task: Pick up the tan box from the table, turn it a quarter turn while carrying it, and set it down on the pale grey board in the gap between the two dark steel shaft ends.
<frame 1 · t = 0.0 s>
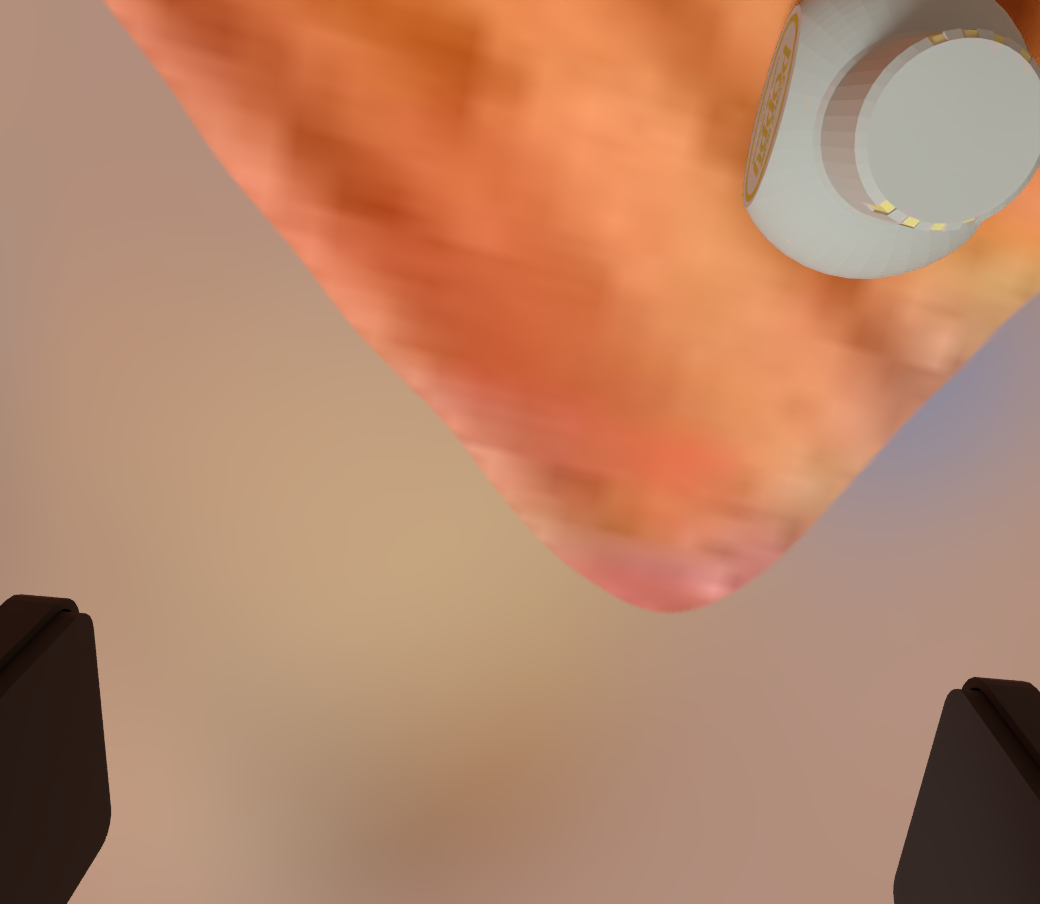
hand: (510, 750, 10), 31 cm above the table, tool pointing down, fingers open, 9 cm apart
air freshener: (852, 129, 37), on the table
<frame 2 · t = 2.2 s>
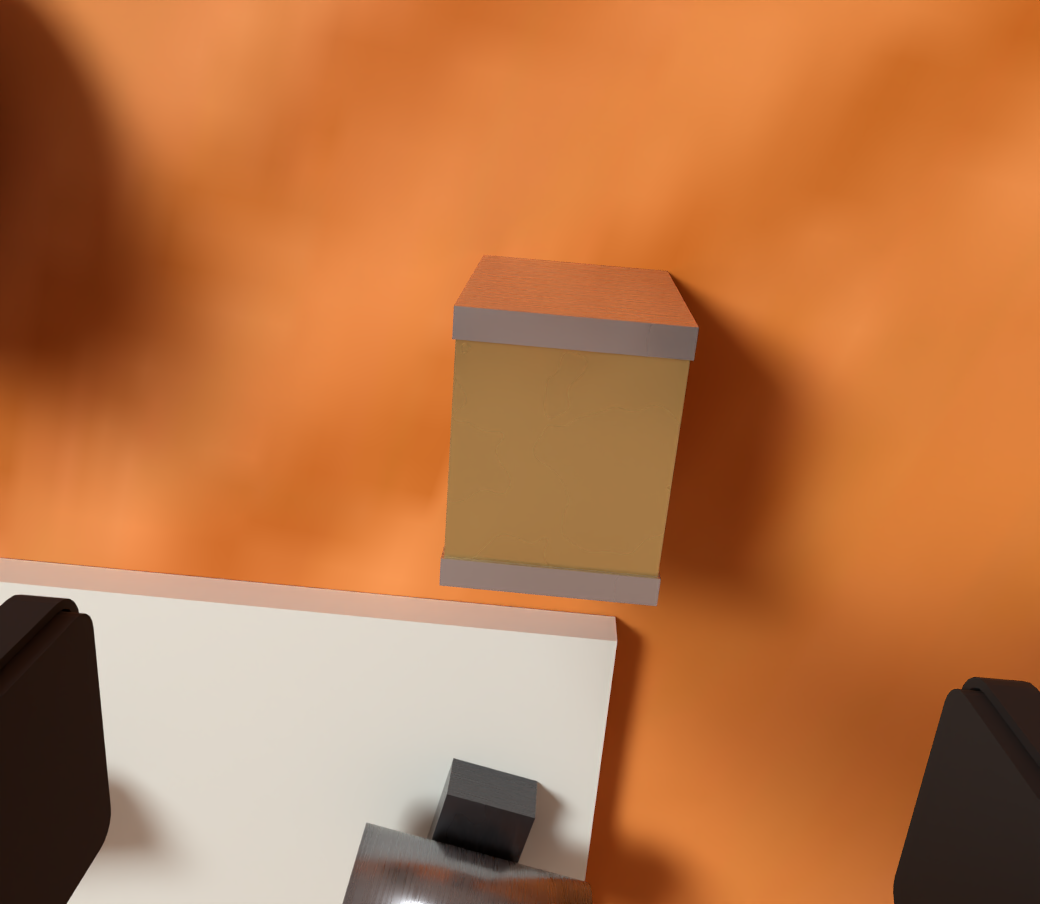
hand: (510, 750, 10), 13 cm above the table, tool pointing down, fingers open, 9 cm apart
tan box: (564, 378, 22), on the table
board: (237, 758, 27), on the table
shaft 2: (478, 798, 27), resting on board
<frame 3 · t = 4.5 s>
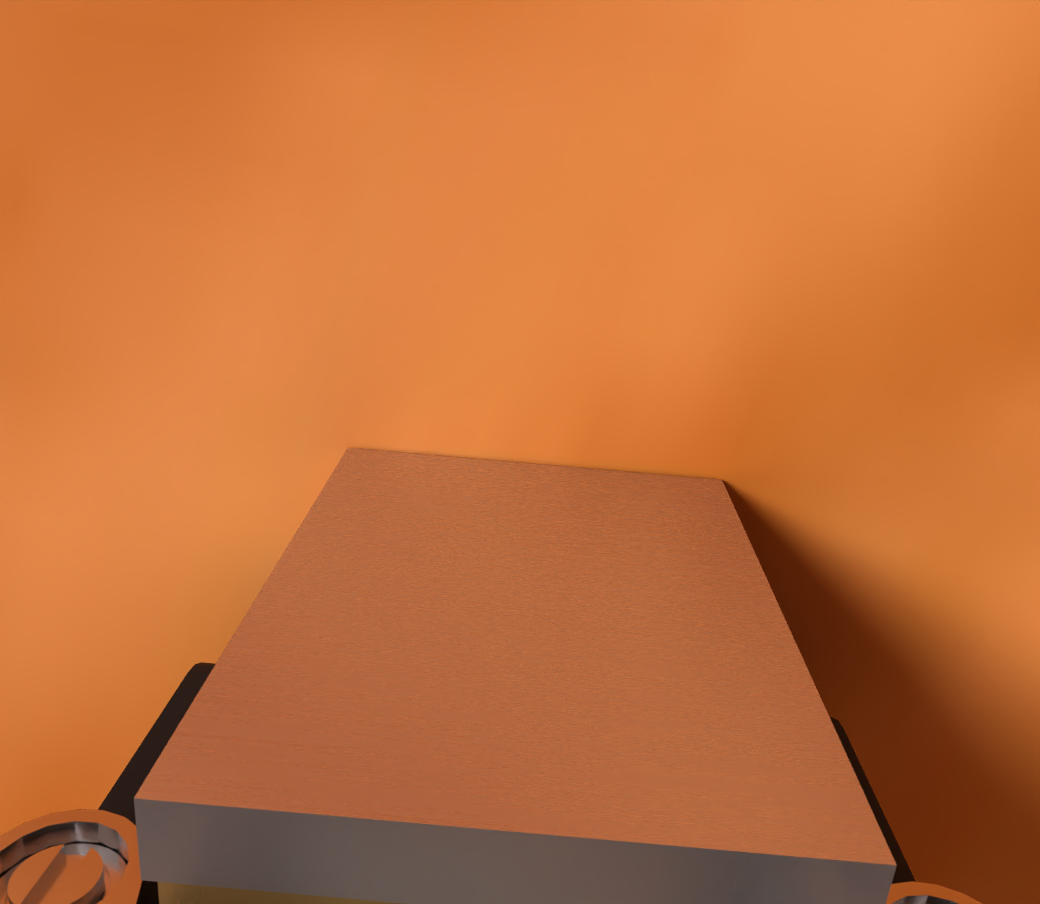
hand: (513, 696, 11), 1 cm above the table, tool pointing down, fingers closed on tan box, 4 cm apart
tan box: (516, 671, 11), on the table, touching gripper
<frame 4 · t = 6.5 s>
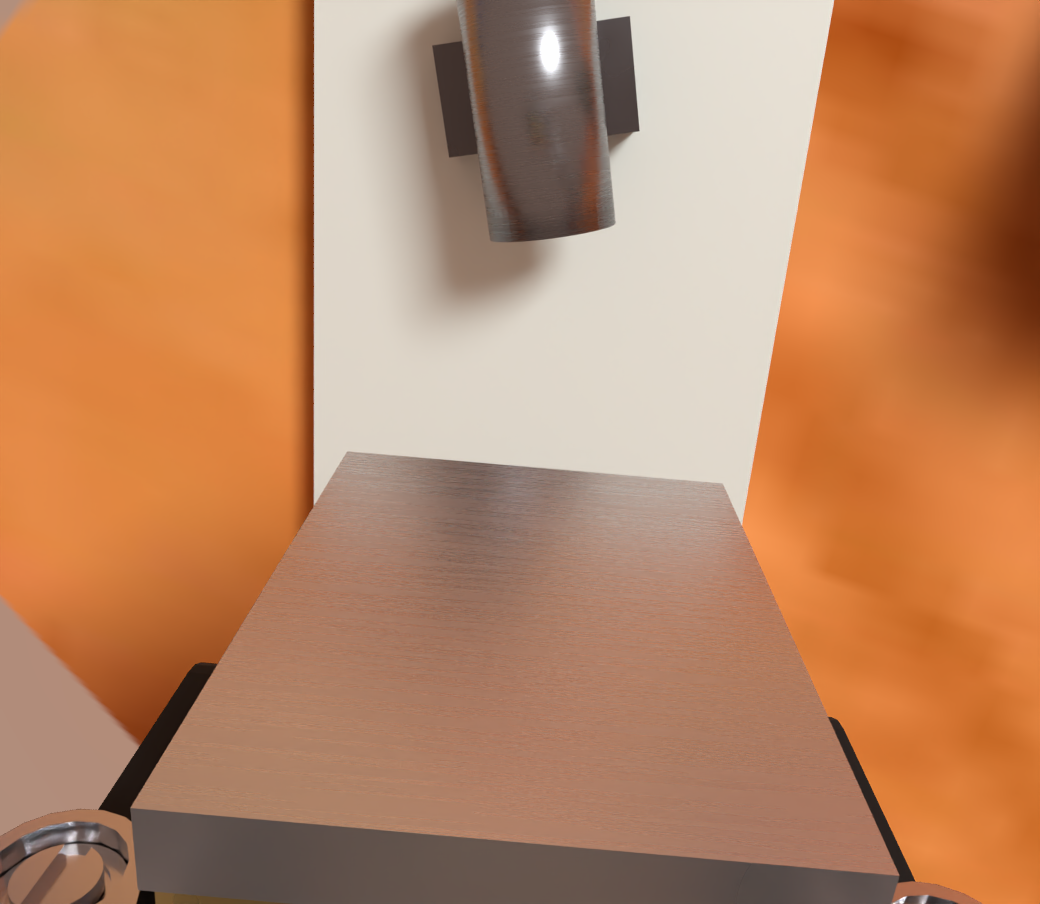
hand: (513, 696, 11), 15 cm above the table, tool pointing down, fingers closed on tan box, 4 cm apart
tan box: (515, 675, 11), point 15 cm above the table, touching gripper
board: (538, 371, 25), on the table
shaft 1: (539, 92, 23), resting on board
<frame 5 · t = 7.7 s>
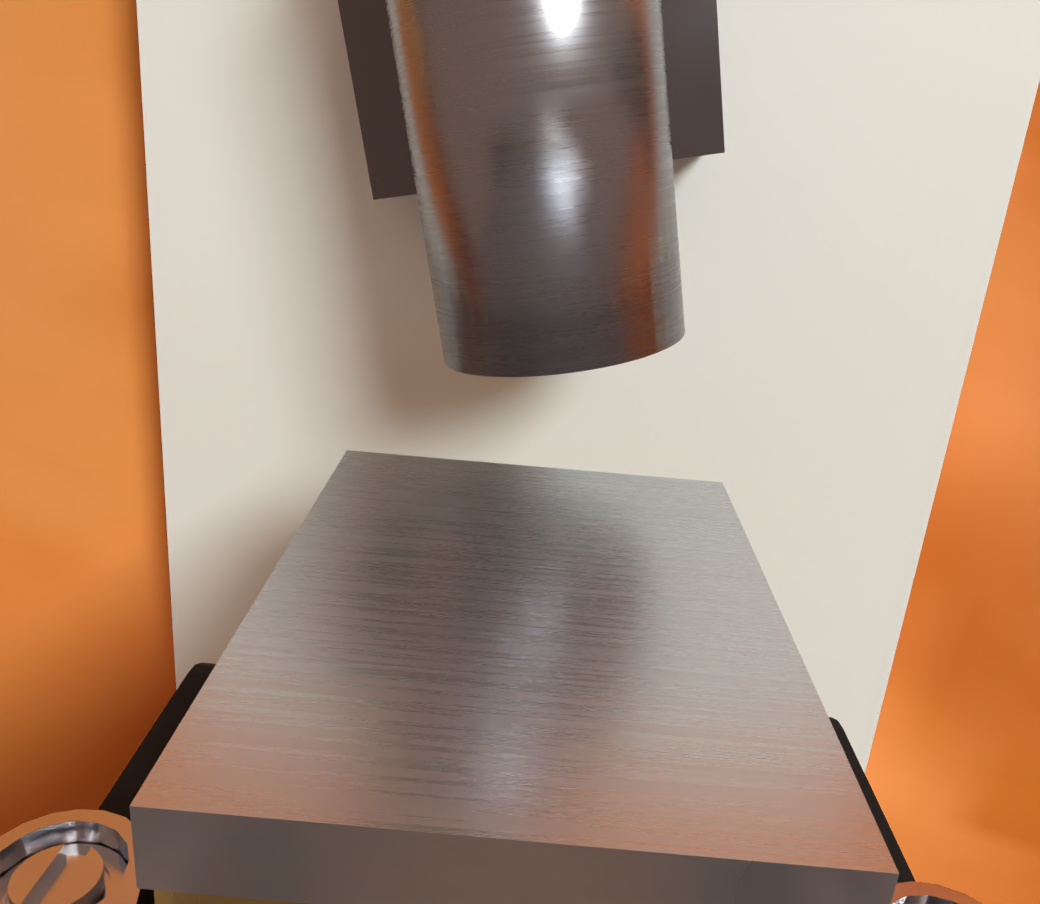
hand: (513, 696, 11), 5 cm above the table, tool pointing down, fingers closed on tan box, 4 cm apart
tan box: (515, 674, 11), point 5 cm above the table, touching gripper
board: (537, 531, 16), on the table
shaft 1: (538, 82, 13), resting on board
when the fingers open (3 cm above the table, at t = 8.7 s): tan box drops 2 cm, resting on board.
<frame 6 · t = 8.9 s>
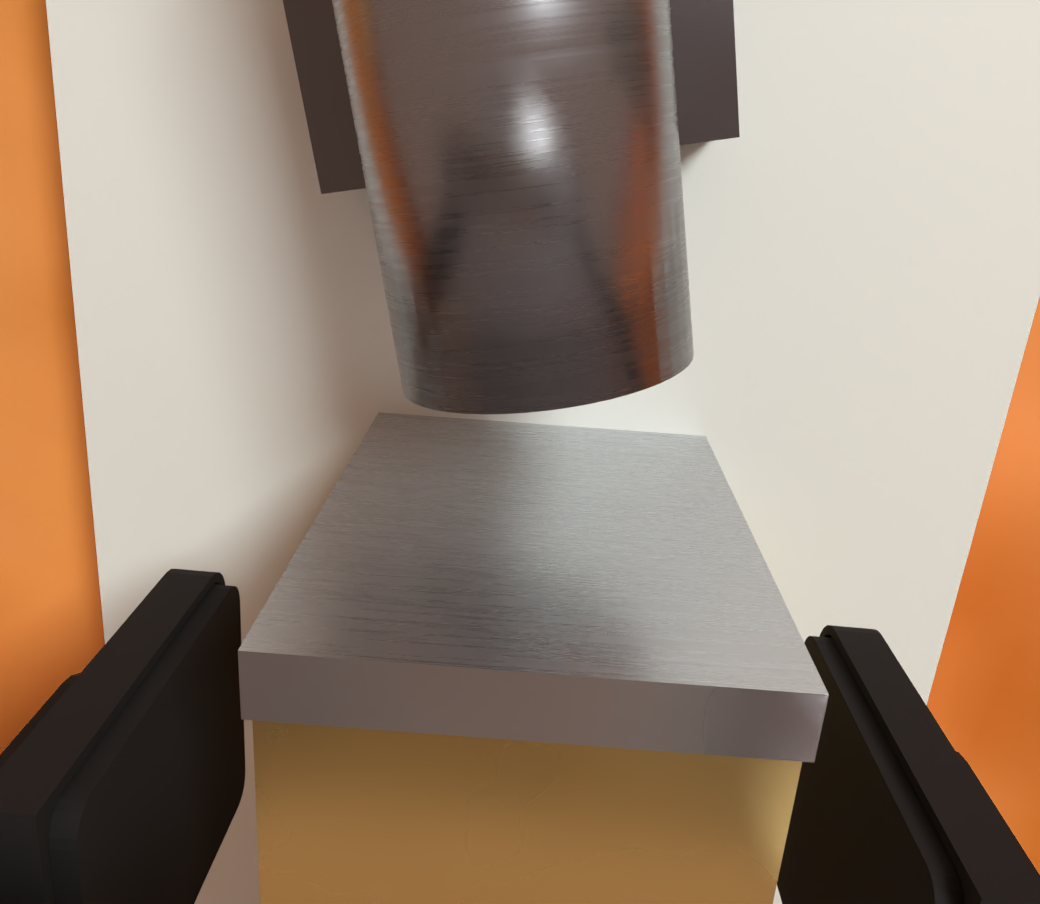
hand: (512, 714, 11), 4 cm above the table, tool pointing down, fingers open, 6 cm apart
tan box: (527, 611, 13), point 1 cm above the table, touching board
board: (522, 568, 14), on the table
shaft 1: (520, 57, 12), resting on board
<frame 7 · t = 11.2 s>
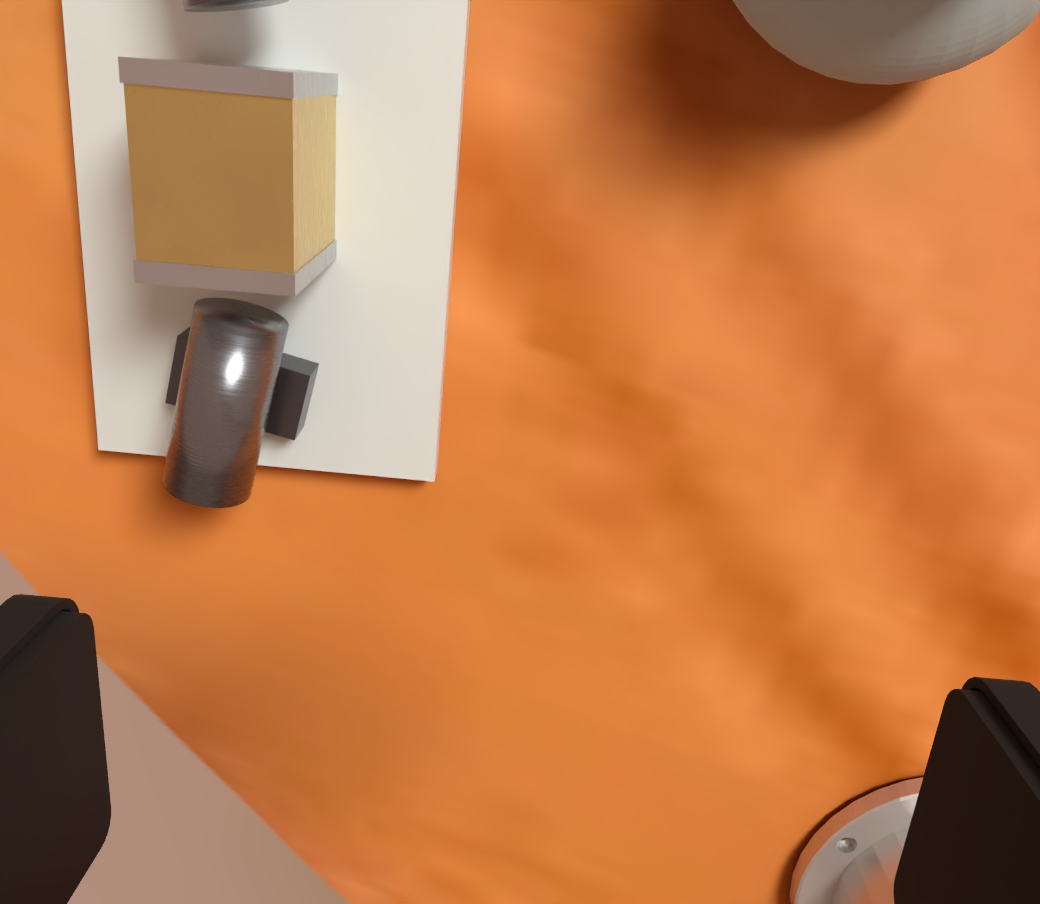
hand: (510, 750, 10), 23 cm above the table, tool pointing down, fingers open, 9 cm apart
tan box: (269, 163, 29), point 1 cm above the table, touching board
board: (275, 157, 30), on the table
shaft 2: (258, 366, 33), resting on board
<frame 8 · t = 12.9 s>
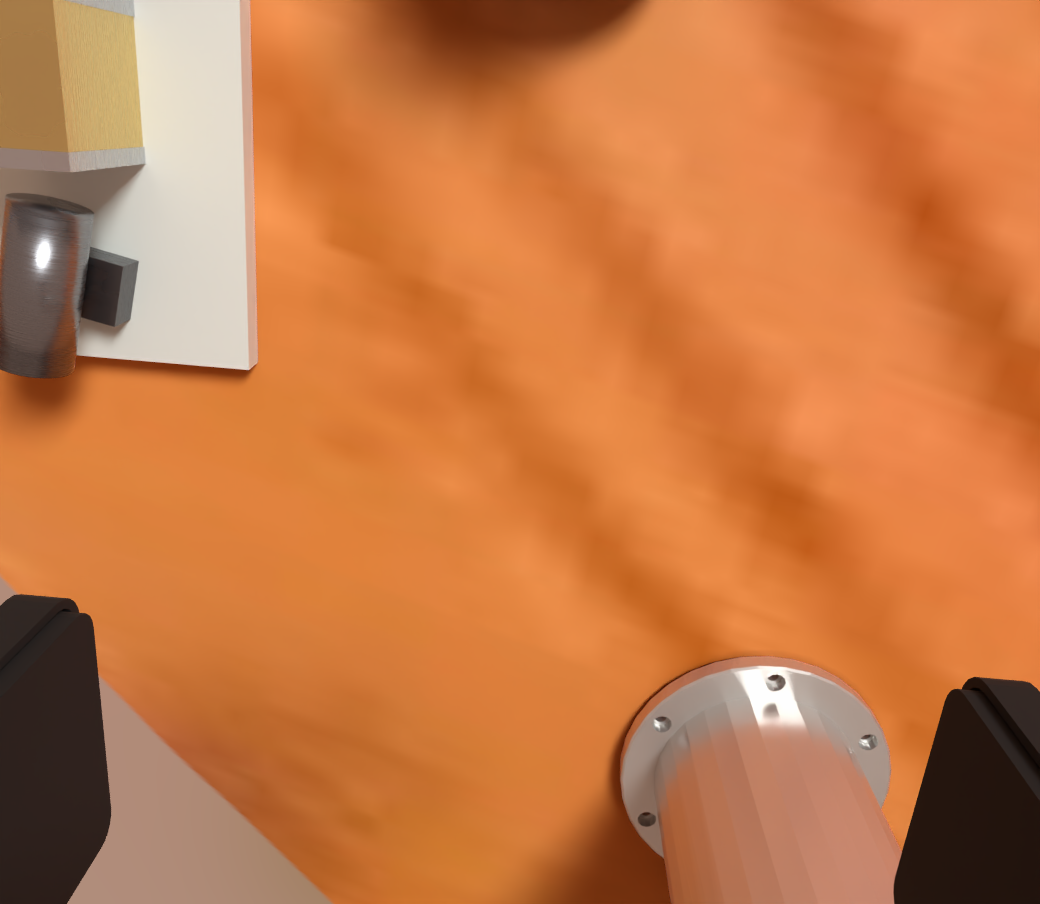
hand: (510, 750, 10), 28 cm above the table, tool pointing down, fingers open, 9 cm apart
tan box: (81, 79, 33), point 1 cm above the table, touching board
board: (93, 78, 34), on the table
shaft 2: (93, 269, 37), resting on board
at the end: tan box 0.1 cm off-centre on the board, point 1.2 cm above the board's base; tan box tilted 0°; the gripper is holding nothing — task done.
